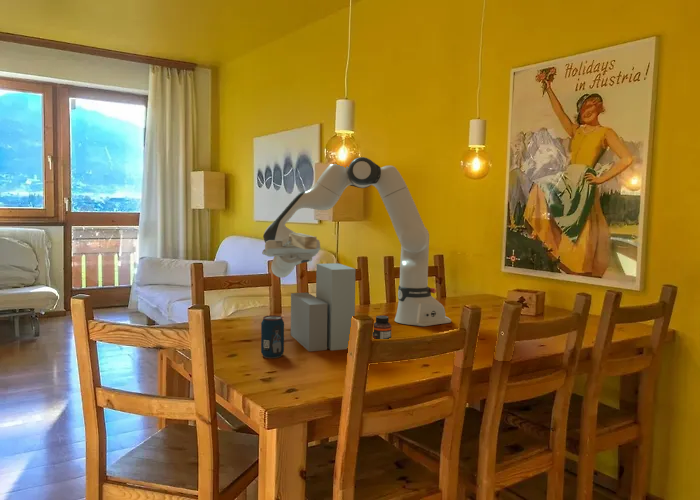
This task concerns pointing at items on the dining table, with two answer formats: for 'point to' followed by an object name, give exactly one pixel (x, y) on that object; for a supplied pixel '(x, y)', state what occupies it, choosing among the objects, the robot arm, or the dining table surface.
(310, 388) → the dining table surface
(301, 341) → the step
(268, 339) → the soda can
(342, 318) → the grey tall block
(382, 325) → the supplement bottle
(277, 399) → the dining table surface
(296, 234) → the bar
